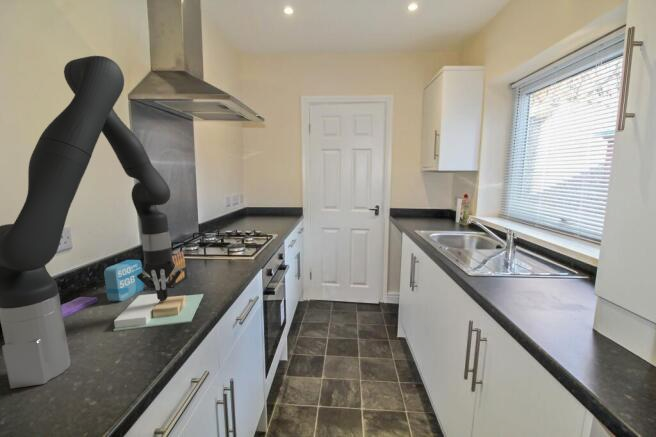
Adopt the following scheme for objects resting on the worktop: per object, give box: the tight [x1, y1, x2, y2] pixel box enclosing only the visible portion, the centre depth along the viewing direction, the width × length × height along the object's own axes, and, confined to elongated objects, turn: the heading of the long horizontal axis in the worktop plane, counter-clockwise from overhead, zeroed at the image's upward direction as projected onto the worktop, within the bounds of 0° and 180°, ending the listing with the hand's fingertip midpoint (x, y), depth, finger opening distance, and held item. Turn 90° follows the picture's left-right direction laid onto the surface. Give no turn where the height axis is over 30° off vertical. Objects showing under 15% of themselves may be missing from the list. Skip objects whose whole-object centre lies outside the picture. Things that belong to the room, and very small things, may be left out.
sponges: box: [61, 296, 99, 318], centre depth 97 cm, size 7×13×2 cm, turn 170°
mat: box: [113, 293, 204, 332], centre depth 94 cm, size 20×20×1 cm
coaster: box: [153, 294, 187, 317], centre depth 94 cm, size 9×7×2 cm
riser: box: [113, 293, 160, 329], centre depth 93 cm, size 18×8×2 cm, turn 13°
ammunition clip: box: [168, 250, 189, 289], centre depth 118 cm, size 11×2×12 cm, turn 179°
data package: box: [103, 259, 145, 302], centre depth 106 cm, size 12×4×12 cm, turn 174°
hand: (163, 299), depth 94 cm, fingers closed
